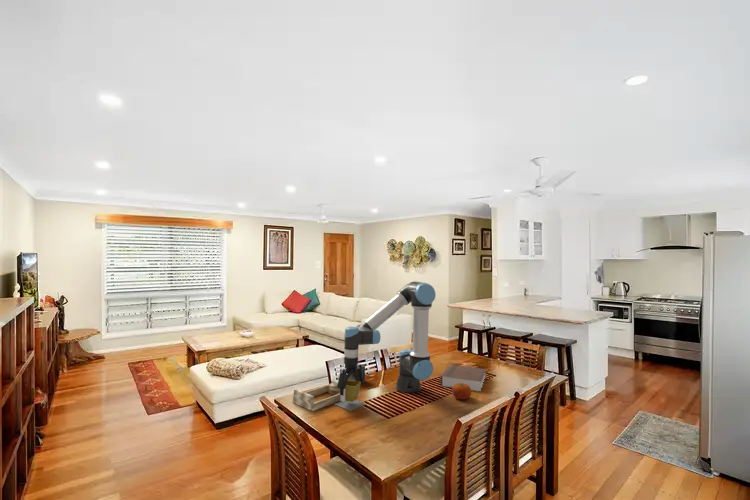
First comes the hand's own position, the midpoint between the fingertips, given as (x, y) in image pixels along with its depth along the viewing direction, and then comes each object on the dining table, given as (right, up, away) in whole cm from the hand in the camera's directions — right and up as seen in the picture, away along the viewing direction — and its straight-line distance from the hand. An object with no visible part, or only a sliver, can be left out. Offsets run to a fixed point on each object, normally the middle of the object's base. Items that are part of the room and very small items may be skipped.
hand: (350, 398), depth 202 cm
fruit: (+62, -5, +12) cm, 64 cm away
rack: (-15, -3, +7) cm, 17 cm away
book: (+70, -6, +41) cm, 82 cm away
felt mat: (0, -3, 0) cm, 3 cm away
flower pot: (0, -1, 0) cm, 1 cm away
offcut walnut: (-8, -4, +15) cm, 17 cm away
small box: (+1, -4, +37) cm, 37 cm away
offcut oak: (-8, -1, +15) cm, 17 cm away
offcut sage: (-7, +1, +15) cm, 17 cm away
